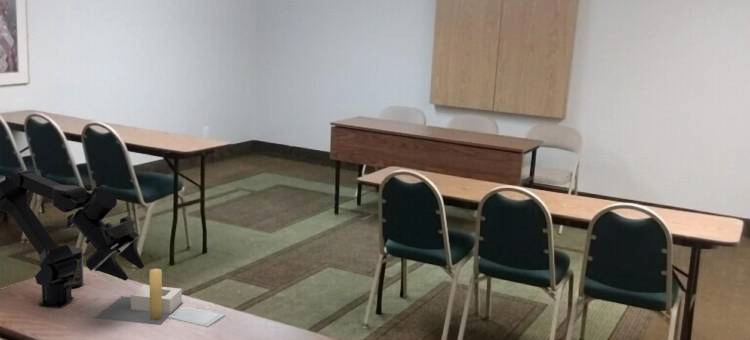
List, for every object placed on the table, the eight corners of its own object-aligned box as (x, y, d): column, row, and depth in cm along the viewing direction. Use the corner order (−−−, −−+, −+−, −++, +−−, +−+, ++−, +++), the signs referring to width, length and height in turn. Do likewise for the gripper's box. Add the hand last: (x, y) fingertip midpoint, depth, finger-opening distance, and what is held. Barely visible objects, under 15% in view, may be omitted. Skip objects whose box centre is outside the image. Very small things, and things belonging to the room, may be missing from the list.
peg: (147, 319, 192) (147, 271, 189) (152, 314, 194) (152, 268, 192) (158, 320, 191) (158, 272, 189) (163, 316, 194) (163, 269, 191)
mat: (94, 319, 191) (94, 317, 191) (121, 297, 206) (121, 296, 206) (160, 326, 189) (160, 324, 189) (183, 304, 204) (183, 302, 204)
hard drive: (167, 316, 193) (208, 325, 189) (186, 305, 200) (225, 313, 196) (167, 322, 193) (208, 331, 189) (186, 311, 201) (225, 319, 196)
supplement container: (88, 284, 214) (87, 250, 212) (68, 291, 209) (67, 256, 207) (74, 279, 218) (73, 245, 216) (53, 285, 212) (52, 251, 210)
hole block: (130, 309, 197) (130, 295, 196) (143, 298, 205) (143, 284, 204) (170, 313, 196) (170, 299, 195) (181, 302, 204) (181, 288, 203)
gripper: (96, 218, 179) (139, 266, 180) (130, 200, 197) (170, 243, 198) (66, 247, 182) (110, 293, 183) (103, 226, 200) (143, 269, 201)
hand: (135, 273), depth 191 cm, fingers open, 9 cm apart
